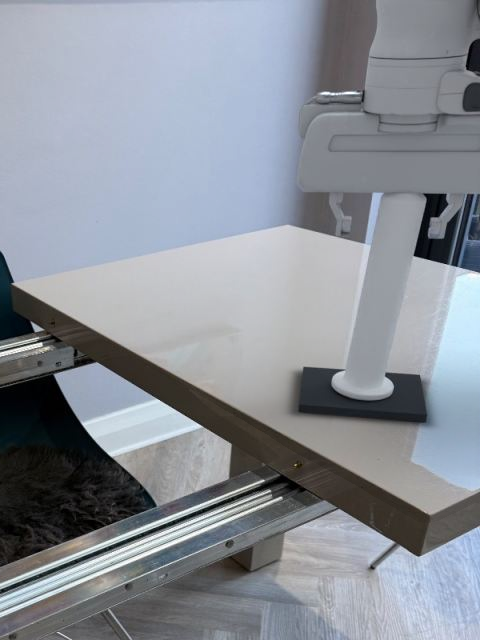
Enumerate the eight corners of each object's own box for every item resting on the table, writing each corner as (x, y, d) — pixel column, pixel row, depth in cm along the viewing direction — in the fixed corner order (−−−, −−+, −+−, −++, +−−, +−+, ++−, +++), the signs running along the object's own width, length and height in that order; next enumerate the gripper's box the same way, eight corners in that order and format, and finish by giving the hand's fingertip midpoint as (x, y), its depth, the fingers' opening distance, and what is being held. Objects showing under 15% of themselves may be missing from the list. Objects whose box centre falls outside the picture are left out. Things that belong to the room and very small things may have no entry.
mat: (418, 381, 97) (420, 374, 96) (425, 422, 88) (427, 414, 88) (302, 373, 100) (303, 366, 100) (298, 412, 91) (299, 404, 91)
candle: (364, 371, 97) (412, 153, 83) (405, 394, 92) (464, 166, 78) (318, 381, 95) (360, 158, 80) (358, 405, 89) (410, 172, 75)
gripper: (300, 95, 76) (286, 241, 83) (531, 91, 71) (495, 247, 79) (303, 87, 81) (290, 226, 88) (519, 83, 76) (486, 230, 84)
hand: (388, 236), depth 84 cm, fingers open, 8 cm apart
